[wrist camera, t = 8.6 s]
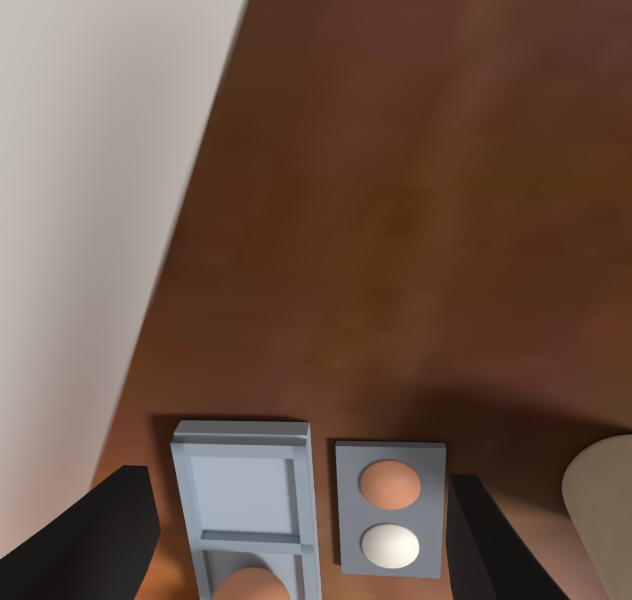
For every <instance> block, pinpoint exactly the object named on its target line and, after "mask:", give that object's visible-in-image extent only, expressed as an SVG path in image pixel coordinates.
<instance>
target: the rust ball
mask: <svg viewBox="0 0 632 600" xmlns="http://www.w3.org/2000/svg"><path fill="white" fill-rule="evenodd" d="M212 600H291V599H290V595H289V593H288V591H287V589H286V587H285V585H284V584H283V582H282V581H281V580H280V579H279V578H278V577H277V576H276V575H275V574H273V573H272V572H270V571H268V570H265V569H262V568H256V567H250V568H244V569H241V570H238V571H236V572H234V573H233V574H231V575H230V576H228V577H227V578H226V579H225V580H224V581H223V582H222V583H221V584H220V586H219V587H218V589H217V590H216V592H215V594H214V596H213V598H212Z"/></svg>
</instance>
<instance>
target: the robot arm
mask: <svg viewBox="0 0 632 600" xmlns="http://www.w3.org/2000/svg"><path fill="white" fill-rule="evenodd" d="M160 532H161V528H160V524H159V519H158V514H157V510H156V505H155V500H154V496H153V491H152V486H151V482H150V477H149V472H148V468H147V466H131V465H123V466H122V467H121V468H119V469H118V470H116V471H115V472H114V473H112V474H111V475H110V476H109V477H107V478H106V479H105V480H104V481H102V482H101V483H100V484H98V485H97V486H96V487H95V488H94V489H92V490H91V491H90V492H89V493H87V494H86V495H85V496H84V497H82V498H81V499H80V500H79V501H77V502H76V503H75V504H73V505H72V506H71V507H70V508H68V509H67V510H66V511H65V512H63V513H62V514H61V515H60V516H58V517H57V518H56V519H54V520H53V521H52V522H51V523H49V524H48V525H47V526H45V527H44V528H43V529H41V530H40V531H39V532H37V533H36V534H34V535H33V536H32V537H30V538H29V539H28V540H27V541H25V542H24V543H22V544H21V545H20V546H18V547H17V548H16V549H14V550H13V551H11V552H10V553H9V554H7V555H6V556H5V557H3V558H2V559H0V600H134V598H135V596H136V594H137V592H138V590H139V588H140V585H141V583H142V581H143V579H144V577H145V575H146V573H147V570H148V567H149V564H150V562H151V559H152V556H153V553H154V550H155V547H156V544H157V541H158V538H159V535H160ZM446 549H447V558H448V566H449V574H450V582H451V590H452V594H453V599H454V600H570V599H569V598H568V596H567V595H566V594H565V593H564V592H563V591H562V589H561V588H560V587H559V586H558V585H557V583H556V582H555V581H554V580H553V579H552V578H551V576H550V575H549V574H548V573H547V572H546V570H545V569H544V568H543V567H542V565H541V564H540V563H539V562H538V560H537V559H536V558H535V556H534V555H533V554H532V552H531V551H530V550H529V549H528V547H527V546H526V545H525V543H524V542H523V541H522V539H521V538H520V537H519V535H518V534H517V533H516V531H515V530H514V528H513V527H512V526H511V524H510V523H509V521H508V520H507V518H506V517H505V515H504V514H503V513H502V511H501V510H500V508H499V507H498V505H497V504H496V502H495V501H494V499H493V497H492V496H491V494H490V493H489V491H488V489H487V488H486V486H485V484H484V483H483V481H482V479H481V478H480V477H479V476H477V475H459V474H449V489H448V509H447V529H446Z"/></svg>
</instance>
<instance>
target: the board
mask: <svg viewBox="0 0 632 600" xmlns="http://www.w3.org/2000/svg"><path fill="white" fill-rule="evenodd" d="M170 444H171V450H172V455H173V460H174V465H175V471H176V476H177V481H178V486H179V492H180V497H181V502H182V507H183V513H184V518H185V523H186V528H187V533H188V539H189V544H190V549H191V554H192V560H193V565H194V570H195V575H196V581H197V586H198V591H199V596H200V600H212V598H213V596H214V594H215V592H216V590H217V589H218V587H219V586H220V584H221V583H222V582H223V581H224V580H225V579H226V578H227V577H228V576H230V575H231V574H233V573H234V572H236V571H238V570H241V569H244V568H250V567H256V568H262V569H265V570H268V571H270V572H272V573H273V574H275V575H276V576H277V577H278V578H279V579H280V580H281V581H282V582H283V584H284V585H285V587H286V589H287V591H288V593H289V595H290V599H291V600H322V594H321V580H320V565H319V551H318V537H317V522H316V508H315V494H314V480H313V465H312V451H311V437H310V422H259V421H198V420H181V421H180V423H179V425H178V426H177V428H176V430H175V431H174V438H173V440H172V441H171V443H170Z"/></svg>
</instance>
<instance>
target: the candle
mask: <svg viewBox="0 0 632 600" xmlns="http://www.w3.org/2000/svg"><path fill="white" fill-rule="evenodd" d="M562 494H563V499H564V503H565V505H566V508H567V510H568V512H569V515H570V517H571V519H572V521H573V524H574V526H575V528H576V530H577V532H578V534H579V536H580V538H581V541H582V543H583V545H584V547H585V549H586V551H587V553H588V555H589V558H590V560H591V562H592V564H593V566H594V568H595V570H596V572H597V575H598V577H599V579H600V581H601V583H602V585H603V587H604V589H605V591H606V594H607V596H608V598H609V600H632V434H627V435H619V436H614V437H610V438H606V439H603V440H601V441H598V442H596V443H594V444H592V445H590V446H589V447H587V448H586V449H584V450H583V451H581V452H580V453H579V454H578V455H577V456H576V457H575V458H574V459H573V460H572V461H571V463H570V464H569V466H568V467H567V469H566V471H565V473H564V476H563V480H562Z"/></svg>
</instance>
